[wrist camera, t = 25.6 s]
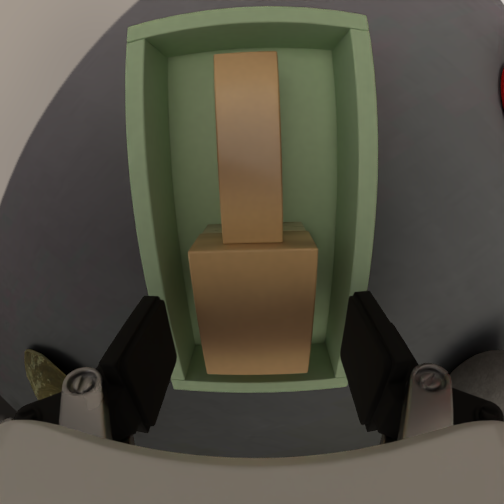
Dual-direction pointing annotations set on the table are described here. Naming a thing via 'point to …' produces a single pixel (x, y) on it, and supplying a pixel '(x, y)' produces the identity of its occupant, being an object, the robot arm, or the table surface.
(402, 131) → the table surface
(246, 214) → the brush
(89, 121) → the table surface
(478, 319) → the table surface
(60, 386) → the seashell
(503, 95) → the soda can
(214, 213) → the bin
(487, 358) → the decorative ball
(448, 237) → the table surface
